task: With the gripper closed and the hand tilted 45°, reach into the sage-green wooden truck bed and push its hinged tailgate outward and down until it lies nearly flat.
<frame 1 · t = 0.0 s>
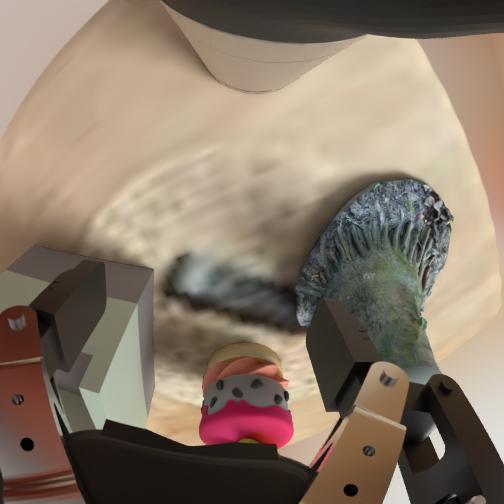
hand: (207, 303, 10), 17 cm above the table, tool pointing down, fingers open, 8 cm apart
tree stump: (378, 264, 30), on the table
cake: (244, 367, 36), on the table
truck bed: (95, 325, 32), on the table
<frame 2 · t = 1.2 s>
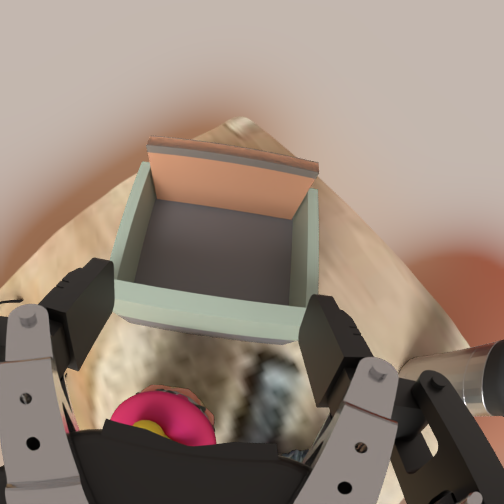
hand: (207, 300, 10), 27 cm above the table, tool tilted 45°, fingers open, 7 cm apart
cake: (171, 422, 31), on the table
tailgate: (228, 181, 31), point 11 cm above the table, hinge at 0.0°
truck bed: (213, 276, 39), on the table
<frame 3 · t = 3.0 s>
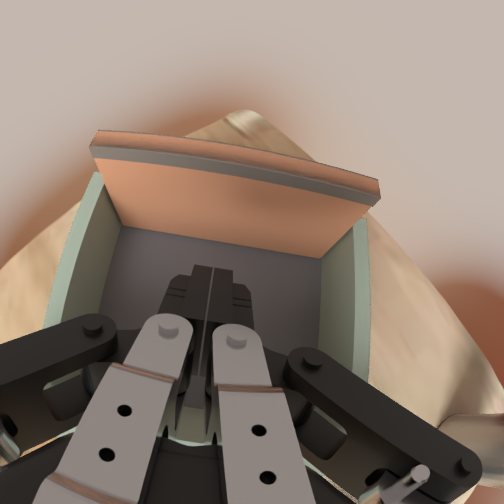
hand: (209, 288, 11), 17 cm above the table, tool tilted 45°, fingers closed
tailgate: (228, 203, 19), point 11 cm above the table, hinge at 0.0°
truck bed: (206, 333, 27), on the table
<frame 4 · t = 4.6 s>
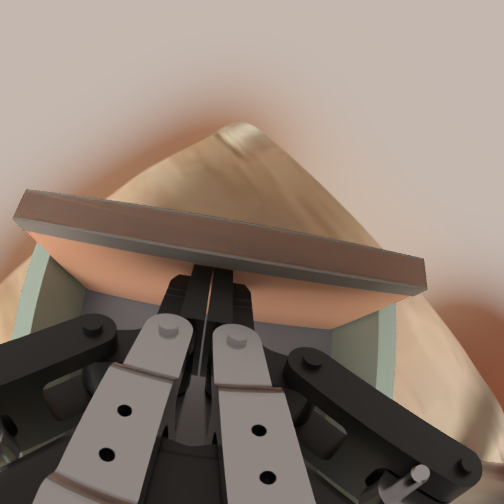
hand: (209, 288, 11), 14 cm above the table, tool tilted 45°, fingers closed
tailgate: (213, 282, 14), point 11 cm above the table, hinge at 1.4°, touching gripper
truck bed: (195, 403, 21), on the table
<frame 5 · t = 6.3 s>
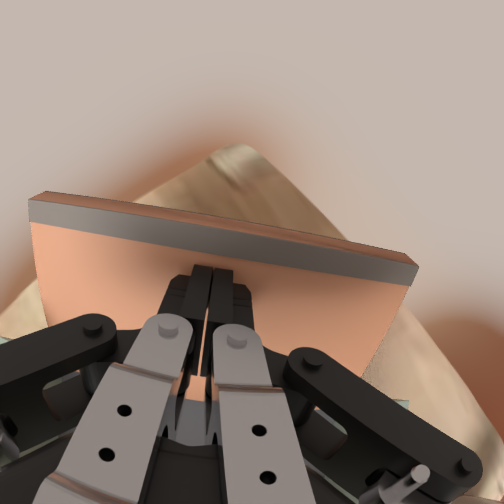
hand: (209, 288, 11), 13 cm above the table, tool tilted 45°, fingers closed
tailgate: (206, 327, 13), point 10 cm above the table, hinge at 44.0°, touching gripper
truck bed: (189, 466, 18), on the table
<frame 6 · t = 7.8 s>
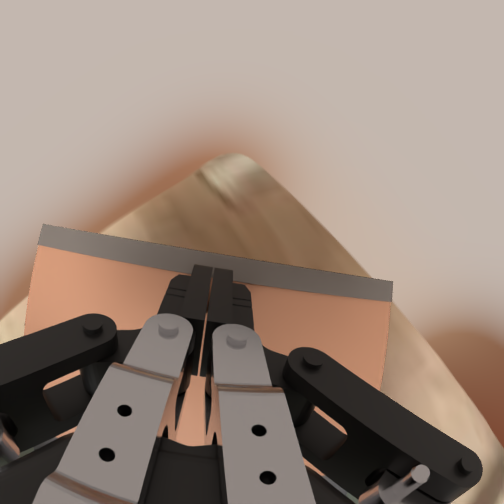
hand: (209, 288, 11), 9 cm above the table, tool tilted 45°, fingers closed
tailgate: (199, 371, 11), point 8 cm above the table, hinge at 80.0°, touching gripper
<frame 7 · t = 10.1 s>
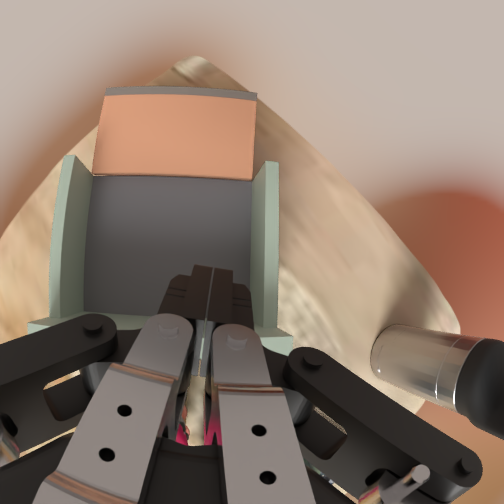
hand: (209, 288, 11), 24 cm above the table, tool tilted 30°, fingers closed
cake: (149, 408, 32), on the table
tailgate: (174, 129, 28), point 8 cm above the table, hinge at 80.0°
truck bed: (169, 256, 34), on the table
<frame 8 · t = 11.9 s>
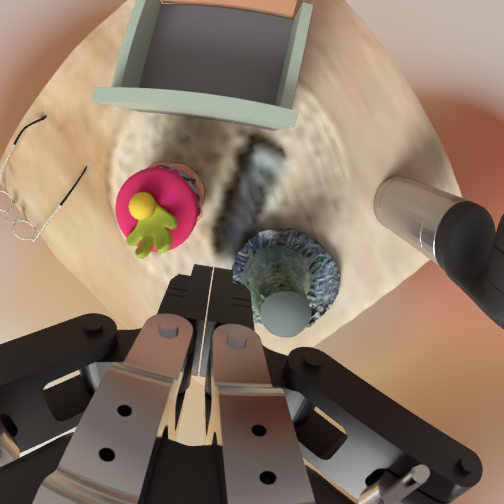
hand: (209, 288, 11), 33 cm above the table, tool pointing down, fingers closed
tree stump: (282, 280, 49), on the table
eyeglasses: (39, 179, 40), on the table
cake: (172, 194, 42), on the table
truck bed: (216, 68, 35), on the table
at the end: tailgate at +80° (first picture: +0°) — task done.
